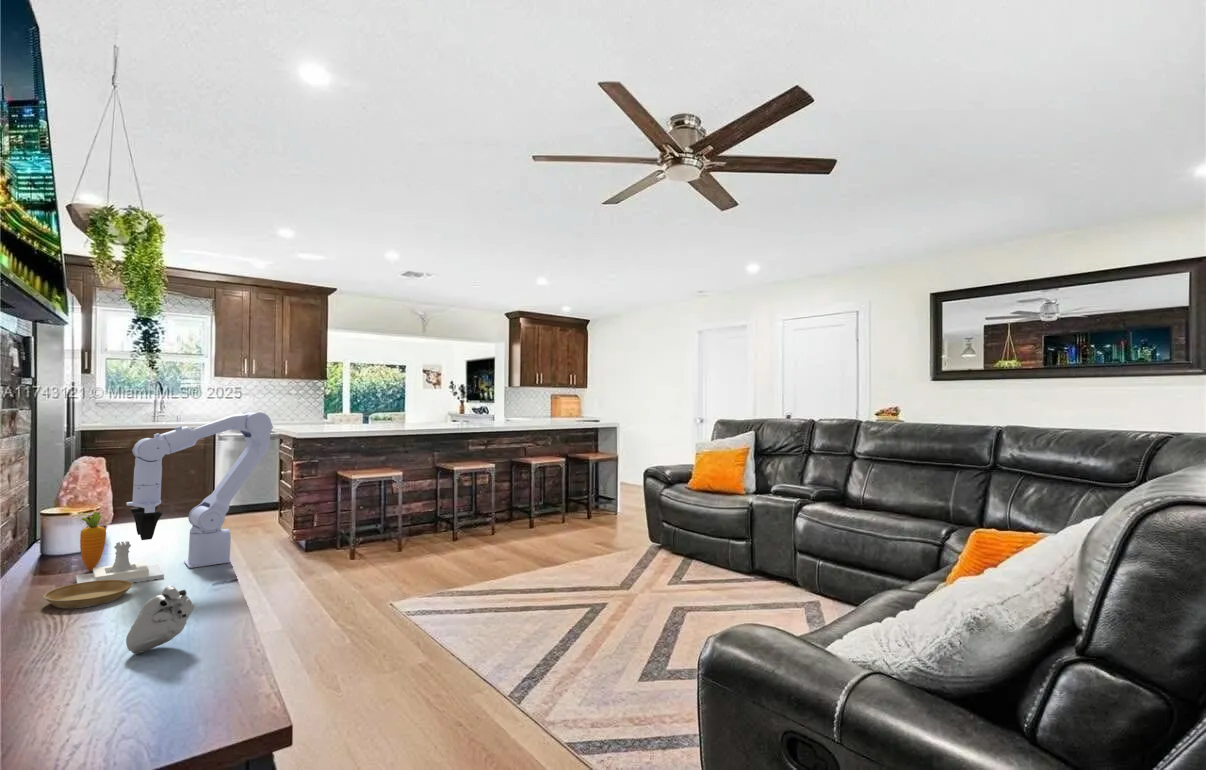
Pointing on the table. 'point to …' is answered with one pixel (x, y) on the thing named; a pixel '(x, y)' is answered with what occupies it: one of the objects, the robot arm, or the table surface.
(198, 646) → the table surface
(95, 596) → the plant saucer
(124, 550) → the rook chess piece
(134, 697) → the table surface
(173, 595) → the heart
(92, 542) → the carrot
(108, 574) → the holder stand
